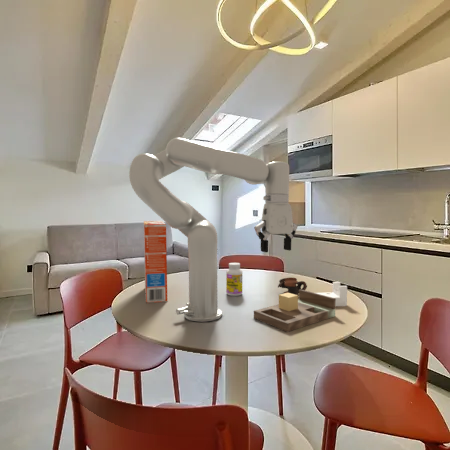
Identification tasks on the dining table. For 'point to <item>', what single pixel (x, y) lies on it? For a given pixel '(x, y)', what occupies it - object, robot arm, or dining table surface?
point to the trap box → (299, 312)
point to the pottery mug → (292, 285)
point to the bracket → (338, 294)
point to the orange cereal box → (155, 261)
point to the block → (288, 301)
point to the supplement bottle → (234, 280)
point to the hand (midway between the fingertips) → (276, 250)
